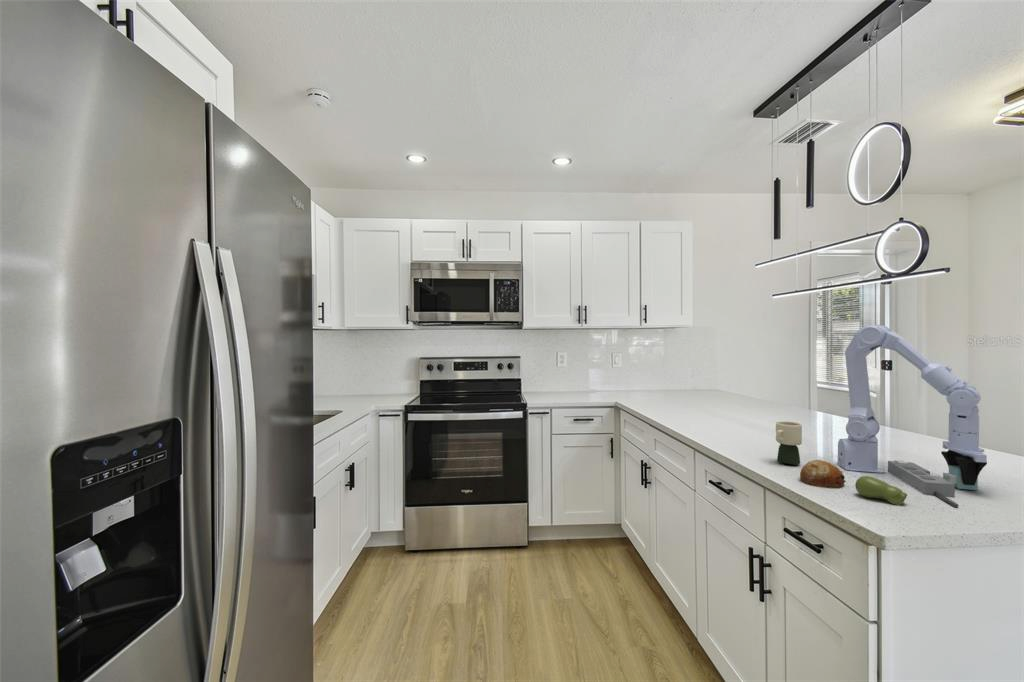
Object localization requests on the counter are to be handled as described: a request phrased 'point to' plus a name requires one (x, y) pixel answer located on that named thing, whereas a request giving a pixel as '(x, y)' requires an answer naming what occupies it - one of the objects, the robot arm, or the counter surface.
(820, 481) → the bread roll
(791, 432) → the character mug
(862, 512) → the counter surface
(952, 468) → the block
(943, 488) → the power strip
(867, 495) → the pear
